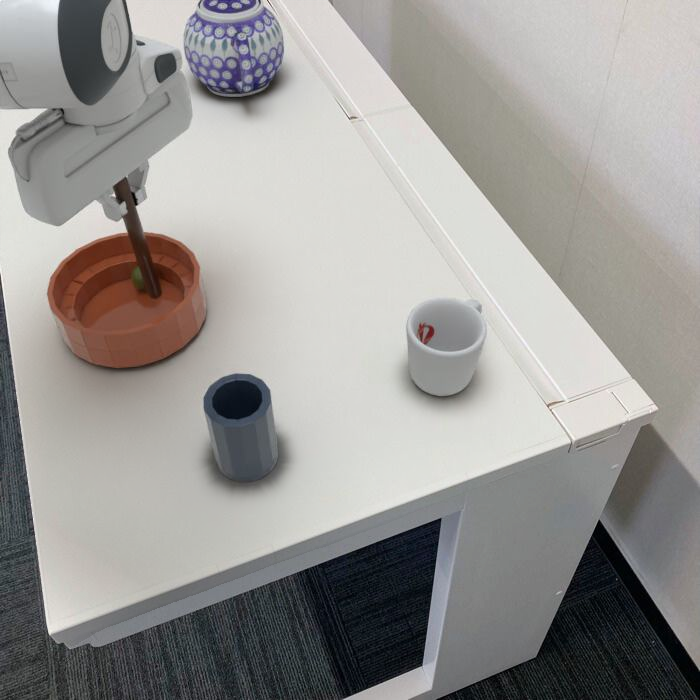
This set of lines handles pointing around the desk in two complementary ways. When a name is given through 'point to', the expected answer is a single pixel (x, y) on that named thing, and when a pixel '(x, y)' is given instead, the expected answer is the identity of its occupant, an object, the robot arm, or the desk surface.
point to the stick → (138, 240)
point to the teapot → (233, 46)
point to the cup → (444, 344)
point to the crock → (241, 426)
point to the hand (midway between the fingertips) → (127, 208)
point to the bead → (137, 279)
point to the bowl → (126, 301)
